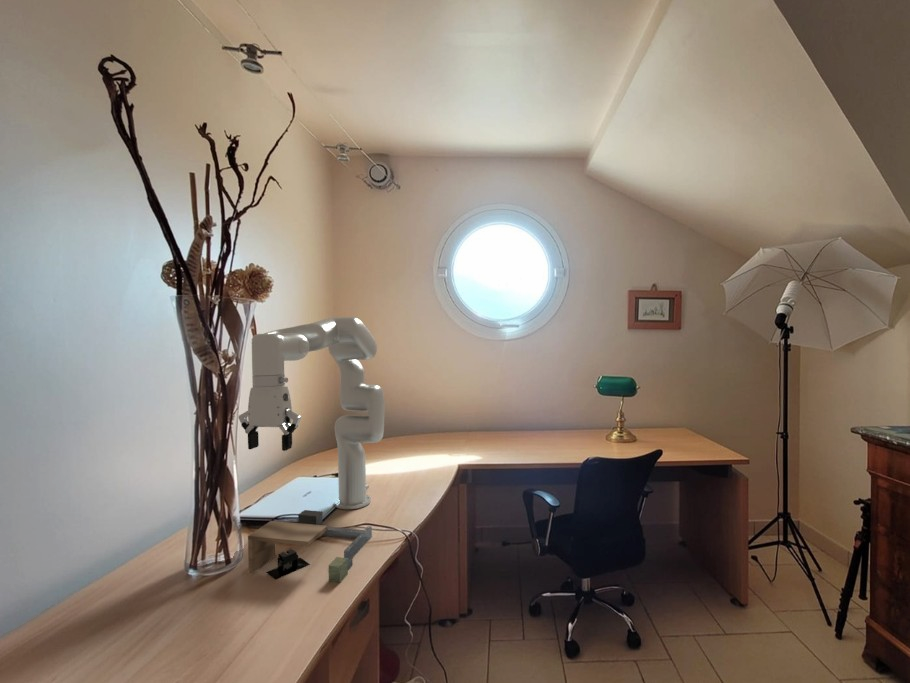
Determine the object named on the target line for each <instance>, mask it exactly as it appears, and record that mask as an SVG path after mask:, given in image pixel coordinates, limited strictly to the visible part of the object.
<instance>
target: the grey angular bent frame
mask: <svg viewBox="0 0 910 683" xmlns="http://www.w3.org/2000/svg"><path fill="white" fill-rule="evenodd" d="M297 517H298V519H297V520H298V521H297V523H301V524H312V525H323V511H320V510H309V509H304V510H303V511H301V512H300V513H299V514H298V515H297ZM372 529H373V527H372V526H367V527H366V528H365V529H360V528H359V529H357V528H356V529H355V528H345V527H335V526H327V530H326V531H325V532H324V533H323V534H322V535H321V536H327V537H335V538H337V537H338V538H345V539H346V538H347V539H354V540H353V541H352V542H351V543H350V544H349V545H348V546H347V547H346V548H345V549H344V551H343V558H347V559H352V560H353V558H355V556H356V555H357V554H358V553H359V552H360V550H361V549H362V548H363V547H364V546H365V545H366V544H367V543H368V542H369V541H370V539H371V538H372V537H373V532H372V531H373V530H372Z"/></svg>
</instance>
